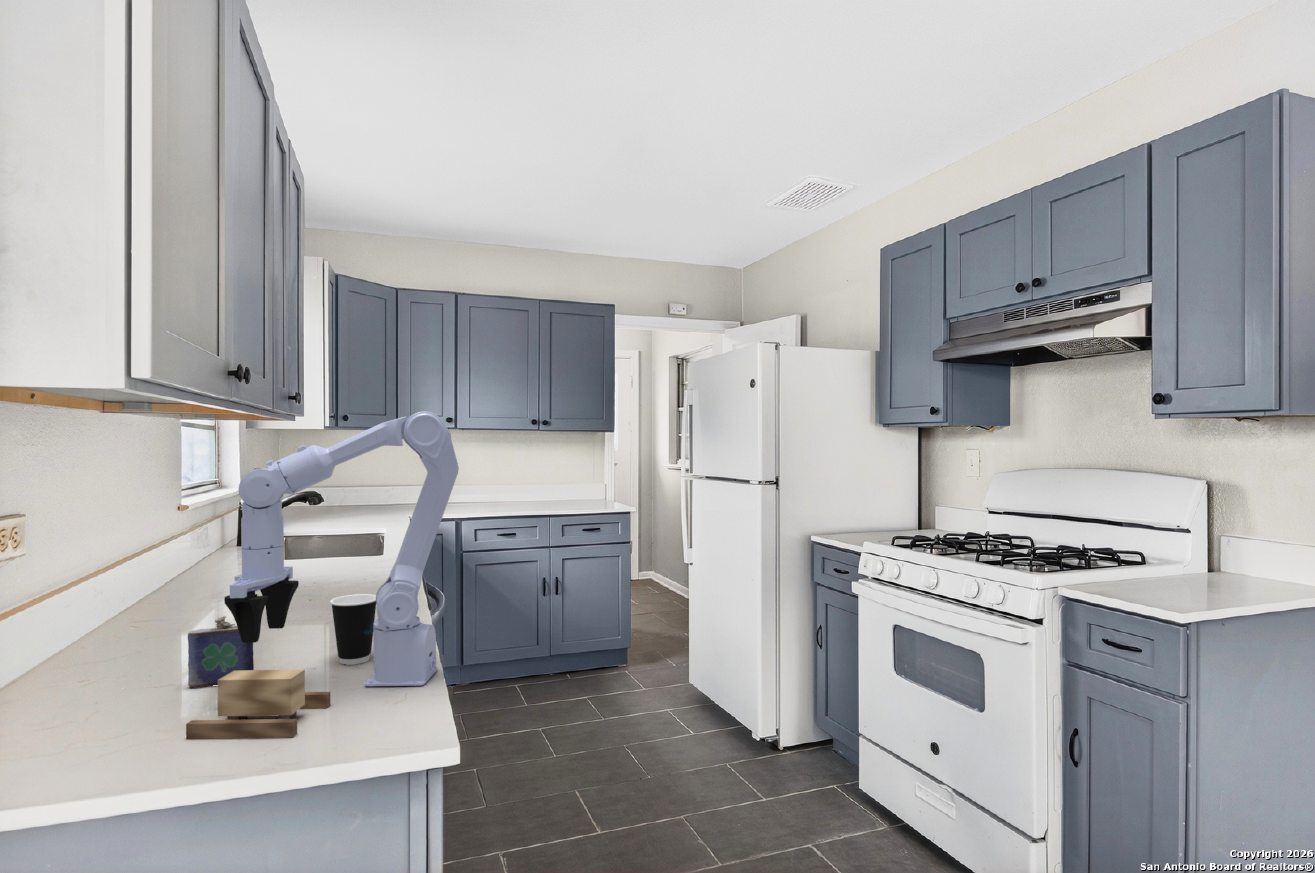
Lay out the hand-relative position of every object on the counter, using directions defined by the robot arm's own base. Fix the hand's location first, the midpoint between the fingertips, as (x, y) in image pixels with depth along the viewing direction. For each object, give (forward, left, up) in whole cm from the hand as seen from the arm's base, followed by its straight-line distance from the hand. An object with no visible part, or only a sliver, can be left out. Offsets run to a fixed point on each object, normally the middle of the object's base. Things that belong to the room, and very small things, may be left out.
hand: (263, 634), depth 111 cm
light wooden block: (-5, +10, -8) cm, 14 cm away
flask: (+10, -6, -10) cm, 15 cm away
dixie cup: (-7, -17, -10) cm, 21 cm away
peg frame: (-5, +10, -9) cm, 15 cm away
